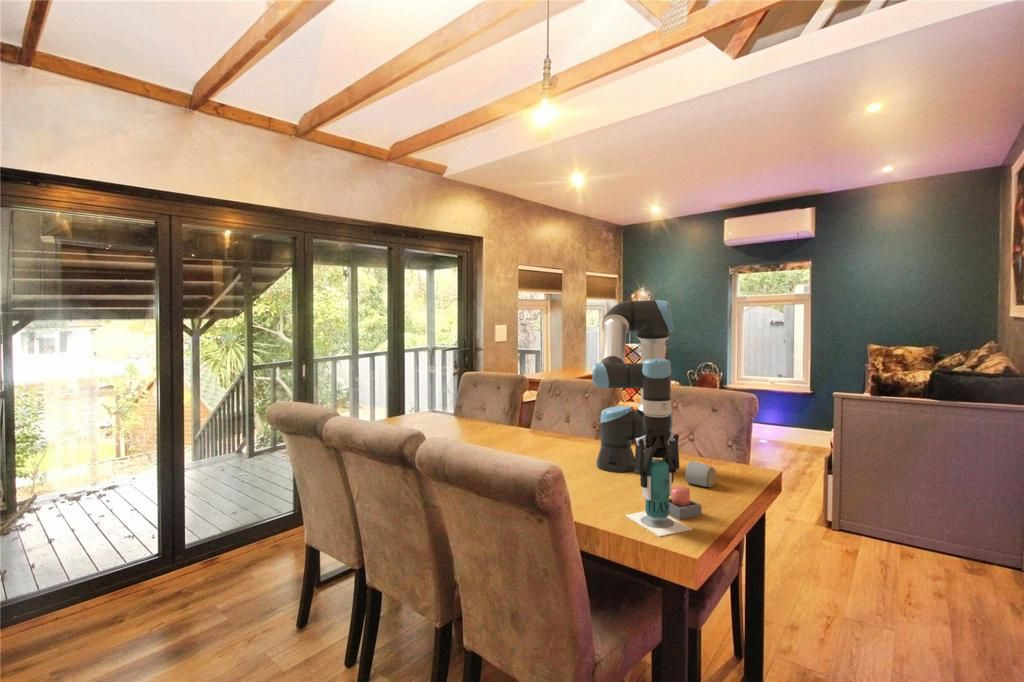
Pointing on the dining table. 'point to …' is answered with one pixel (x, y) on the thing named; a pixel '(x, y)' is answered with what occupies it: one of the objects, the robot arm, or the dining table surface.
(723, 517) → the dining table surface
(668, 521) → the paper card
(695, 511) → the button base
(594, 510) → the dining table surface
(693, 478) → the ceramic mug
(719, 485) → the dining table surface
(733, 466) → the dining table surface
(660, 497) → the beverage bottle
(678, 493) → the button
